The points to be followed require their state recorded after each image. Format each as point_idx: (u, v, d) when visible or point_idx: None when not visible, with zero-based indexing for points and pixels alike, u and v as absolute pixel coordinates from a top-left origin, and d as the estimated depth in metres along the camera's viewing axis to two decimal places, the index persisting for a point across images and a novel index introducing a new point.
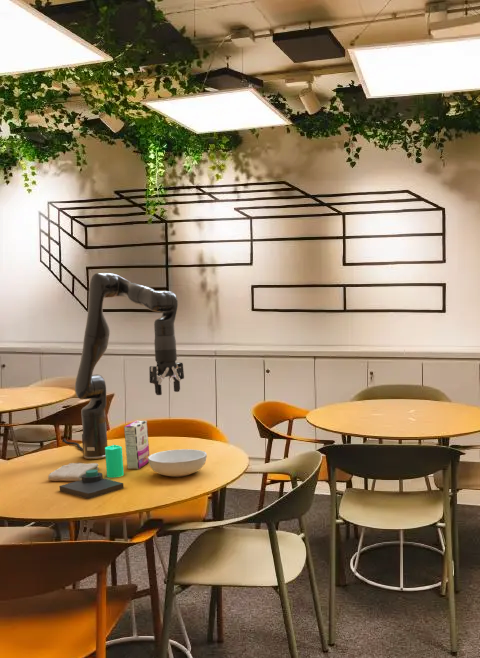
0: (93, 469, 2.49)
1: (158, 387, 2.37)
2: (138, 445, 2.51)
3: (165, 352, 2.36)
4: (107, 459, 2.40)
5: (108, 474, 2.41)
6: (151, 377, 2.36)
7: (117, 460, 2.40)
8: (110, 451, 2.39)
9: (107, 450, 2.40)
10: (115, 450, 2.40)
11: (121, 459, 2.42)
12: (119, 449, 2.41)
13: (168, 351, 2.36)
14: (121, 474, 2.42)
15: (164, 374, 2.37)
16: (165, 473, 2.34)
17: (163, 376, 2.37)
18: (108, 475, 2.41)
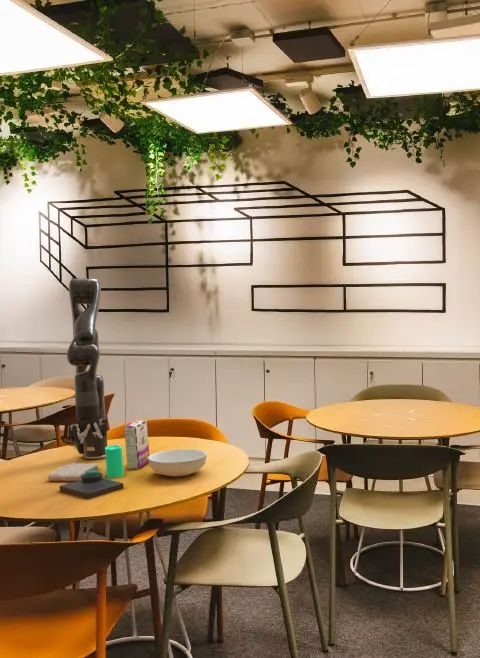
0: (93, 469, 2.49)
1: (80, 446, 2.27)
2: (138, 445, 2.51)
3: (85, 408, 2.25)
4: (107, 459, 2.40)
5: (108, 474, 2.41)
6: (72, 436, 2.26)
7: (117, 460, 2.40)
8: (110, 451, 2.39)
9: (107, 450, 2.40)
10: (115, 450, 2.40)
11: (121, 459, 2.42)
12: (119, 449, 2.41)
13: (89, 407, 2.25)
14: (121, 474, 2.42)
15: (86, 432, 2.27)
16: (165, 473, 2.34)
17: (85, 434, 2.27)
18: (108, 475, 2.41)
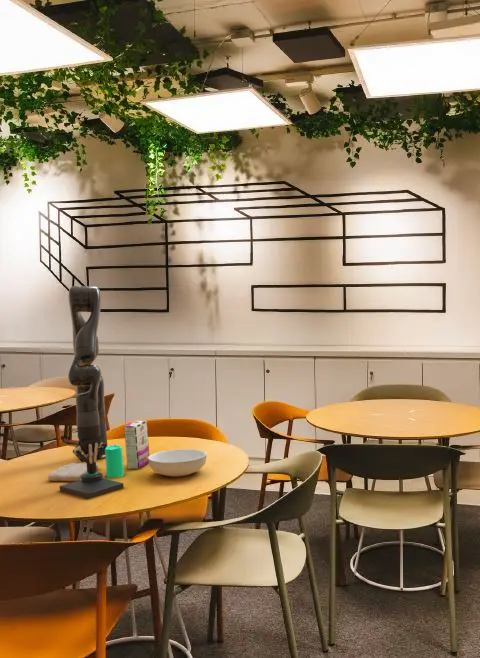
0: None
1: (90, 466, 2.30)
2: (138, 445, 2.51)
3: (87, 429, 2.26)
4: (107, 459, 2.40)
5: (108, 474, 2.41)
6: None
7: (117, 460, 2.40)
8: (110, 451, 2.39)
9: (107, 450, 2.40)
10: (115, 450, 2.40)
11: (121, 459, 2.42)
12: (119, 449, 2.41)
13: (90, 428, 2.26)
14: (121, 474, 2.42)
15: (90, 452, 2.29)
16: (165, 473, 2.34)
17: (90, 454, 2.29)
18: (108, 475, 2.41)
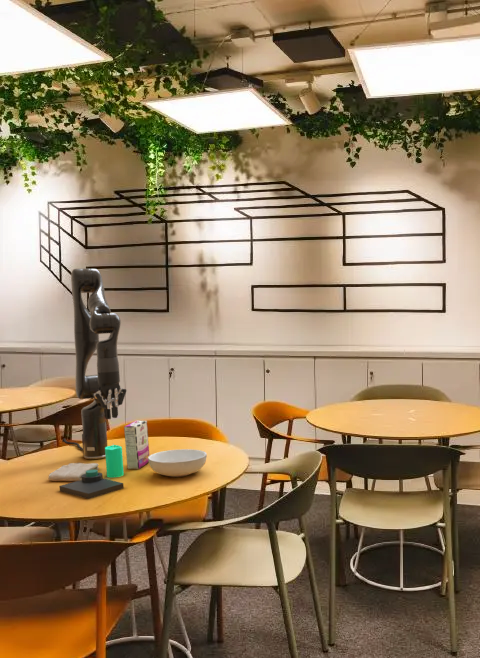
0: (93, 469, 2.49)
1: (107, 411, 2.38)
2: (138, 445, 2.51)
3: (107, 374, 2.35)
4: (107, 459, 2.40)
5: (108, 474, 2.41)
6: (98, 402, 2.37)
7: (117, 460, 2.40)
8: (110, 451, 2.39)
9: (107, 450, 2.40)
10: (115, 450, 2.40)
11: (121, 459, 2.42)
12: (119, 449, 2.41)
13: (110, 373, 2.35)
14: (121, 474, 2.42)
15: (109, 397, 2.37)
16: (165, 473, 2.34)
17: (109, 400, 2.37)
18: (108, 475, 2.41)
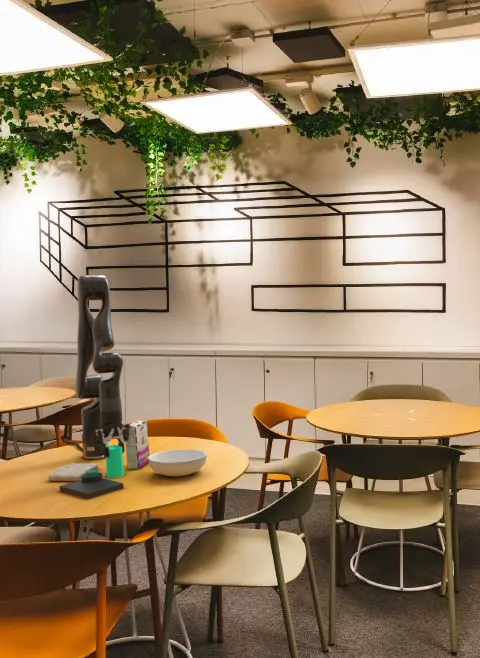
0: (93, 469, 2.49)
1: (105, 450, 2.39)
2: (138, 445, 2.51)
3: (110, 414, 2.37)
4: (107, 459, 2.40)
5: (108, 474, 2.41)
6: (98, 440, 2.38)
7: (117, 460, 2.40)
8: (110, 451, 2.39)
9: None
10: (115, 450, 2.40)
11: (121, 459, 2.42)
12: (119, 449, 2.41)
13: (113, 413, 2.37)
14: (121, 474, 2.42)
15: (110, 436, 2.39)
16: (165, 473, 2.34)
17: (109, 438, 2.38)
18: (108, 475, 2.41)
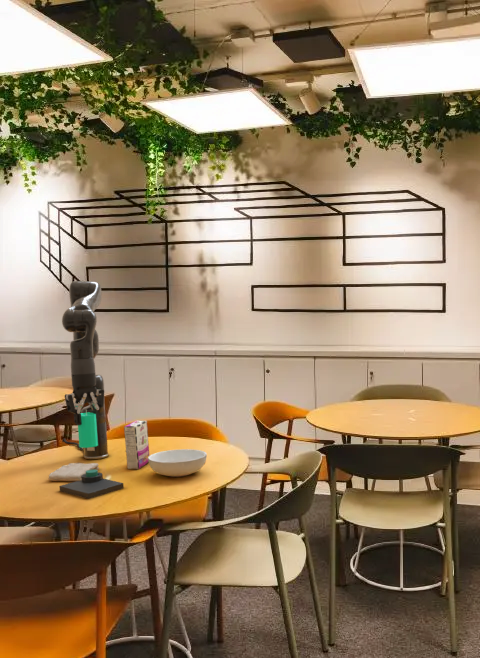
0: (93, 469, 2.49)
1: (77, 416, 2.17)
2: (138, 445, 2.51)
3: (82, 377, 2.15)
4: (79, 427, 2.18)
5: (80, 444, 2.19)
6: (68, 406, 2.15)
7: (90, 428, 2.18)
8: (82, 418, 2.17)
9: None
10: (88, 417, 2.17)
11: (95, 427, 2.20)
12: (92, 416, 2.19)
13: (85, 376, 2.15)
14: (95, 444, 2.20)
15: (82, 401, 2.17)
16: (165, 473, 2.34)
17: (81, 404, 2.16)
18: (80, 445, 2.19)
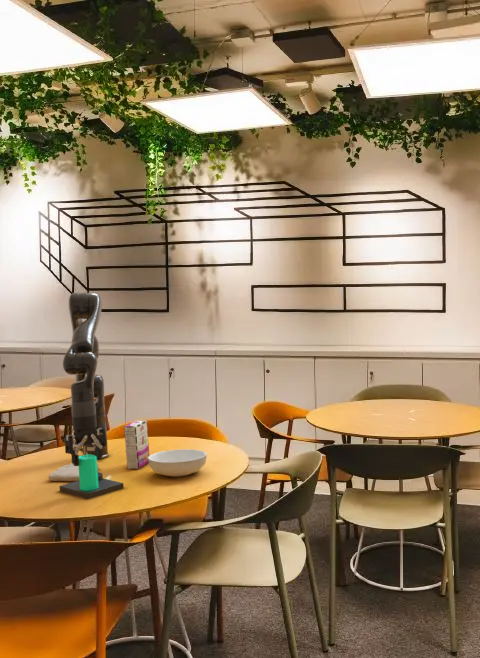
0: None
1: (75, 457, 2.16)
2: (138, 445, 2.51)
3: (82, 419, 2.15)
4: (80, 470, 2.19)
5: (81, 486, 2.19)
6: (67, 447, 2.15)
7: (91, 471, 2.19)
8: (83, 461, 2.18)
9: (80, 460, 2.18)
10: (89, 460, 2.18)
11: (95, 470, 2.20)
12: (93, 459, 2.19)
13: (86, 418, 2.15)
14: (95, 486, 2.20)
15: (82, 443, 2.17)
16: (165, 473, 2.34)
17: (80, 445, 2.16)
18: (81, 487, 2.19)
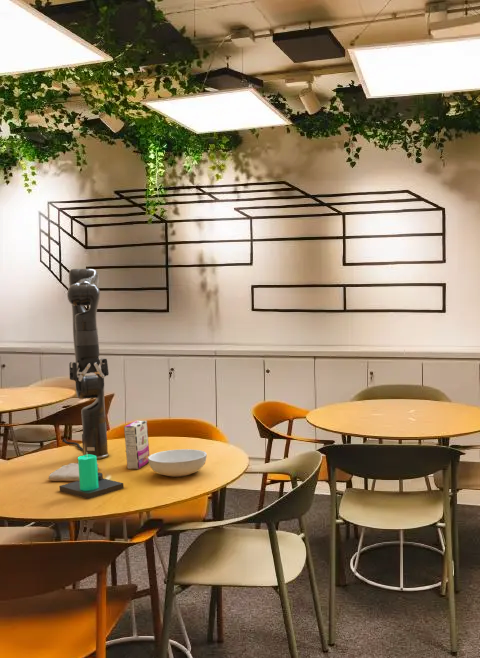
0: None
1: (79, 384, 2.28)
2: (138, 445, 2.51)
3: (86, 348, 2.27)
4: (80, 470, 2.19)
5: (81, 486, 2.19)
6: (71, 373, 2.28)
7: (91, 471, 2.19)
8: (83, 461, 2.18)
9: (80, 460, 2.18)
10: (89, 460, 2.18)
11: (96, 470, 2.20)
12: (93, 459, 2.19)
13: (89, 347, 2.28)
14: (95, 486, 2.20)
15: (85, 370, 2.29)
16: (165, 473, 2.34)
17: (84, 372, 2.29)
18: (81, 487, 2.19)
